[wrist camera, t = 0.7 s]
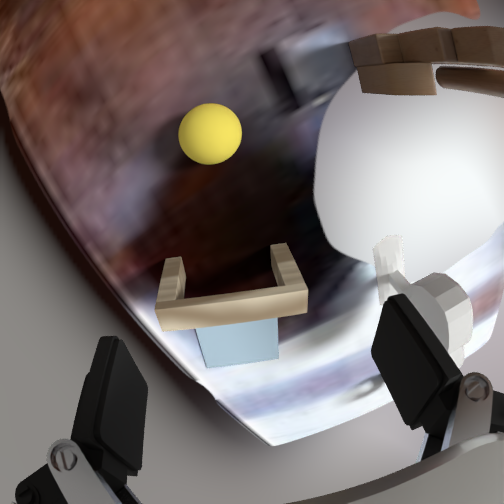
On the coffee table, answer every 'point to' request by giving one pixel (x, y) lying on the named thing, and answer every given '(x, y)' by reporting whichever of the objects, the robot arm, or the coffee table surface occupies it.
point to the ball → (210, 133)
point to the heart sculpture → (426, 297)
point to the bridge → (231, 297)
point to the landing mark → (239, 343)
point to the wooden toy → (431, 61)
